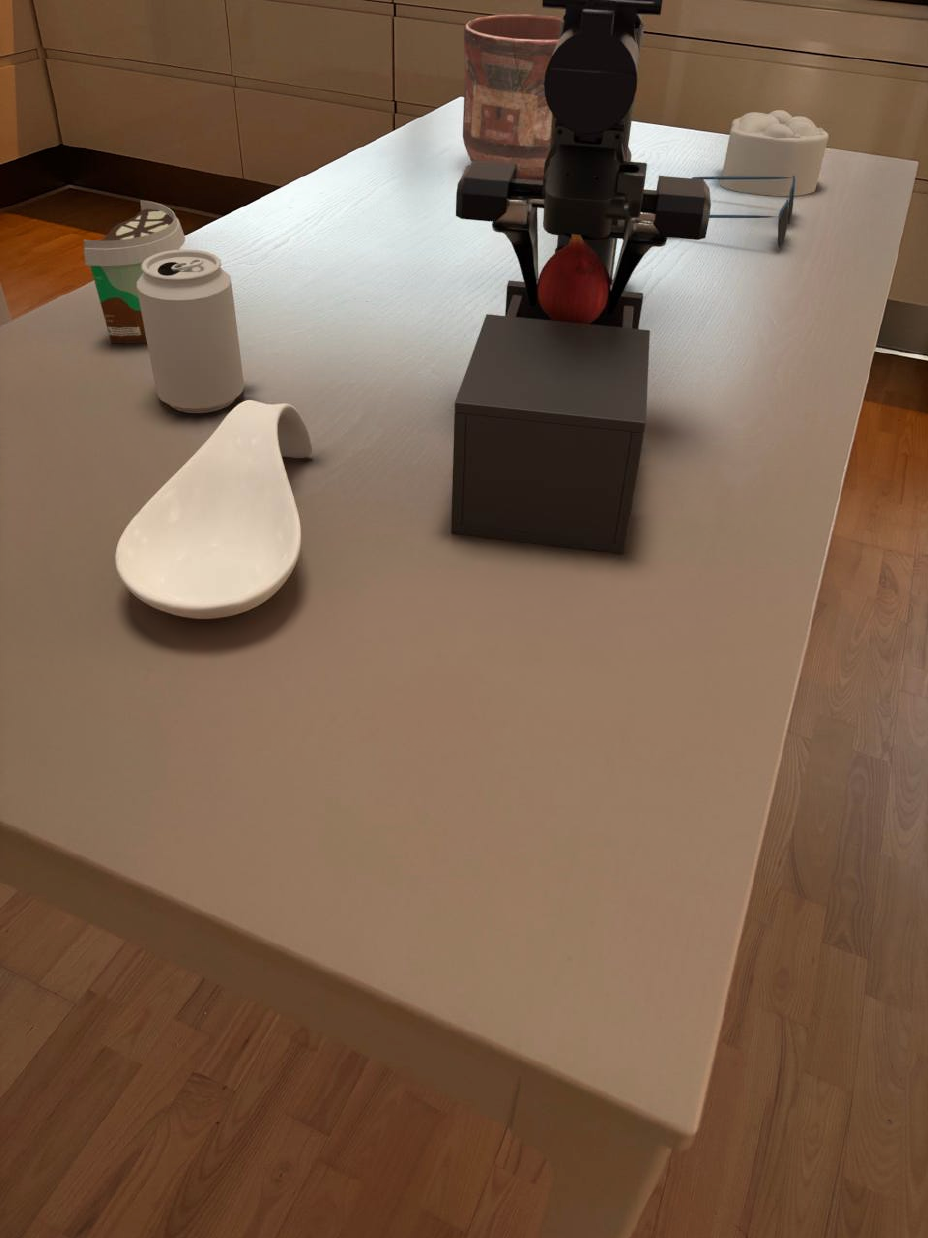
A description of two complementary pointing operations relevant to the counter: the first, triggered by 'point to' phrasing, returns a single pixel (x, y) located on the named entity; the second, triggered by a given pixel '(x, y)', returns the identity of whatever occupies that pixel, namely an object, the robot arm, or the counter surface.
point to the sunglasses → (783, 216)
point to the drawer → (622, 317)
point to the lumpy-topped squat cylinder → (774, 154)
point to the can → (191, 330)
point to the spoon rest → (221, 520)
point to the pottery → (508, 90)
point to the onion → (574, 284)
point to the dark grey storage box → (550, 433)
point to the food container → (130, 266)
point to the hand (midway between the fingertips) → (571, 308)
